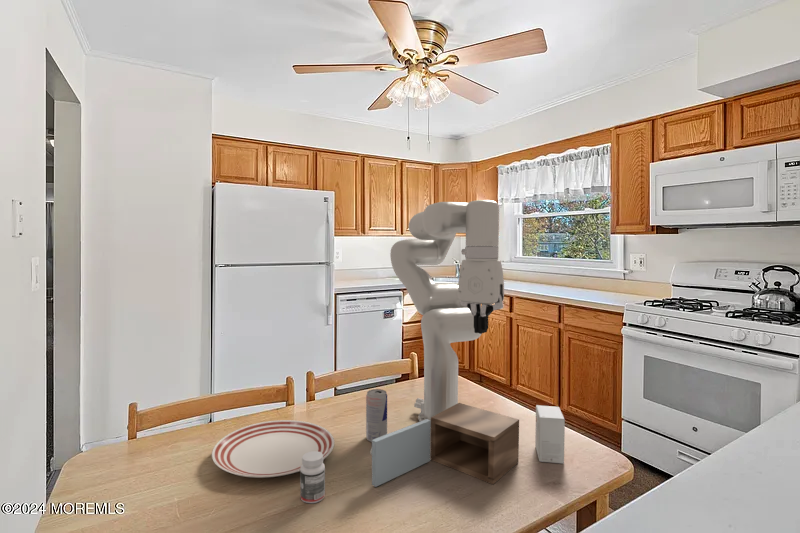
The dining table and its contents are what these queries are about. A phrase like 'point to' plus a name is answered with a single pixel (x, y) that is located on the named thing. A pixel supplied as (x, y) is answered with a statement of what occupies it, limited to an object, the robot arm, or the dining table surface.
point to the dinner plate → (270, 448)
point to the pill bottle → (312, 477)
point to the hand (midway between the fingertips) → (480, 332)
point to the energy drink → (376, 414)
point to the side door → (400, 452)
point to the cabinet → (475, 441)
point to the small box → (550, 434)
